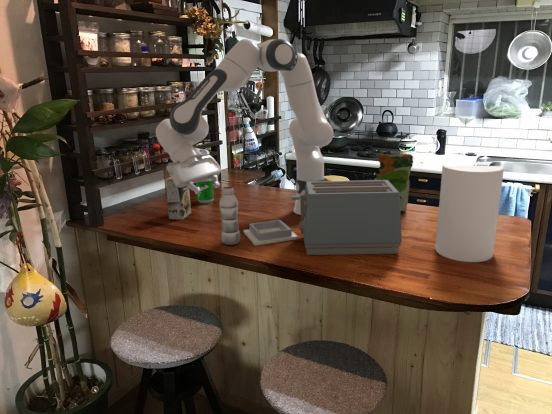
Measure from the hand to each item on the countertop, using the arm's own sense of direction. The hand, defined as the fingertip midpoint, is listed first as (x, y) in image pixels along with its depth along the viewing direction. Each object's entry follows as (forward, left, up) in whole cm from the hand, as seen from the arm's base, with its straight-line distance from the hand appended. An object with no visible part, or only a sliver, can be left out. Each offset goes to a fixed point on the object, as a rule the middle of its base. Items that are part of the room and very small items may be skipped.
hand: (208, 189), depth 158 cm
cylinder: (-73, +43, -18) cm, 87 cm away
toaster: (-40, +23, -18) cm, 50 cm away
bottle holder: (-20, +5, -18) cm, 28 cm away
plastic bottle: (-5, +7, -18) cm, 20 cm away
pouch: (-75, -1, -18) cm, 77 cm away
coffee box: (+7, -32, -18) cm, 37 cm away
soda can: (-7, -49, -18) cm, 52 cm away
